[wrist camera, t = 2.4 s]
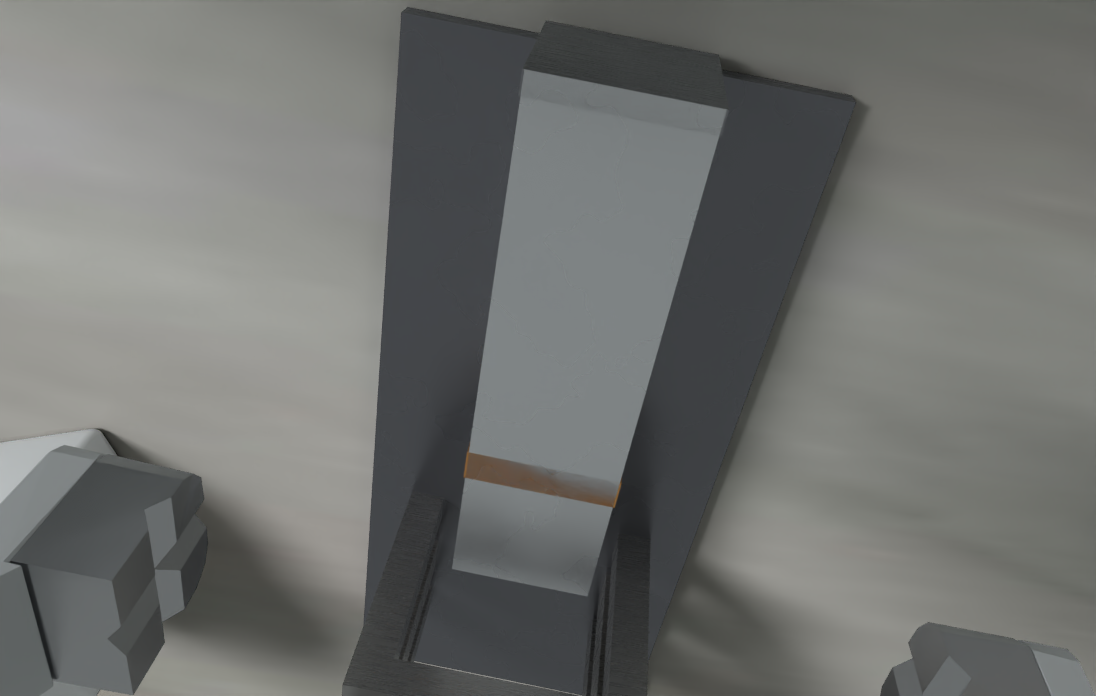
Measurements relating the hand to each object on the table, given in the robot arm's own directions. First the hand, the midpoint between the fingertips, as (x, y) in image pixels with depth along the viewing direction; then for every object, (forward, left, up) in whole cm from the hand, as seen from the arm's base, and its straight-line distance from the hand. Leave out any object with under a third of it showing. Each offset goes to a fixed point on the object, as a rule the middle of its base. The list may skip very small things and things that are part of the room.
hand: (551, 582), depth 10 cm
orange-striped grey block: (+6, 0, -16) cm, 17 cm away
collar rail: (+12, 0, -17) cm, 21 cm away
